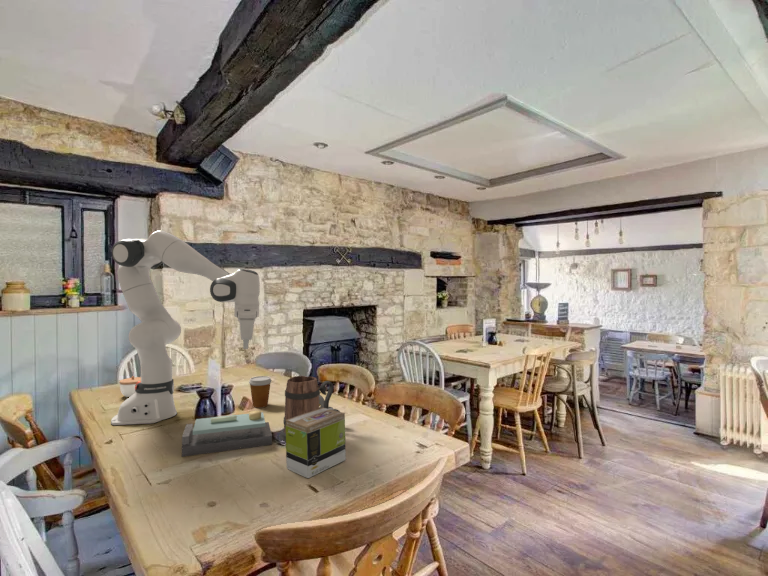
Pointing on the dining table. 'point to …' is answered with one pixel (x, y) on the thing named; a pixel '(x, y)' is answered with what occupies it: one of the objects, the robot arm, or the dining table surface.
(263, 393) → the disposable coffee cup
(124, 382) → the lidded jar
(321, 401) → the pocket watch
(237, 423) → the plate
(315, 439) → the tea box
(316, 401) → the tankard
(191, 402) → the dining table surface
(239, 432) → the base
